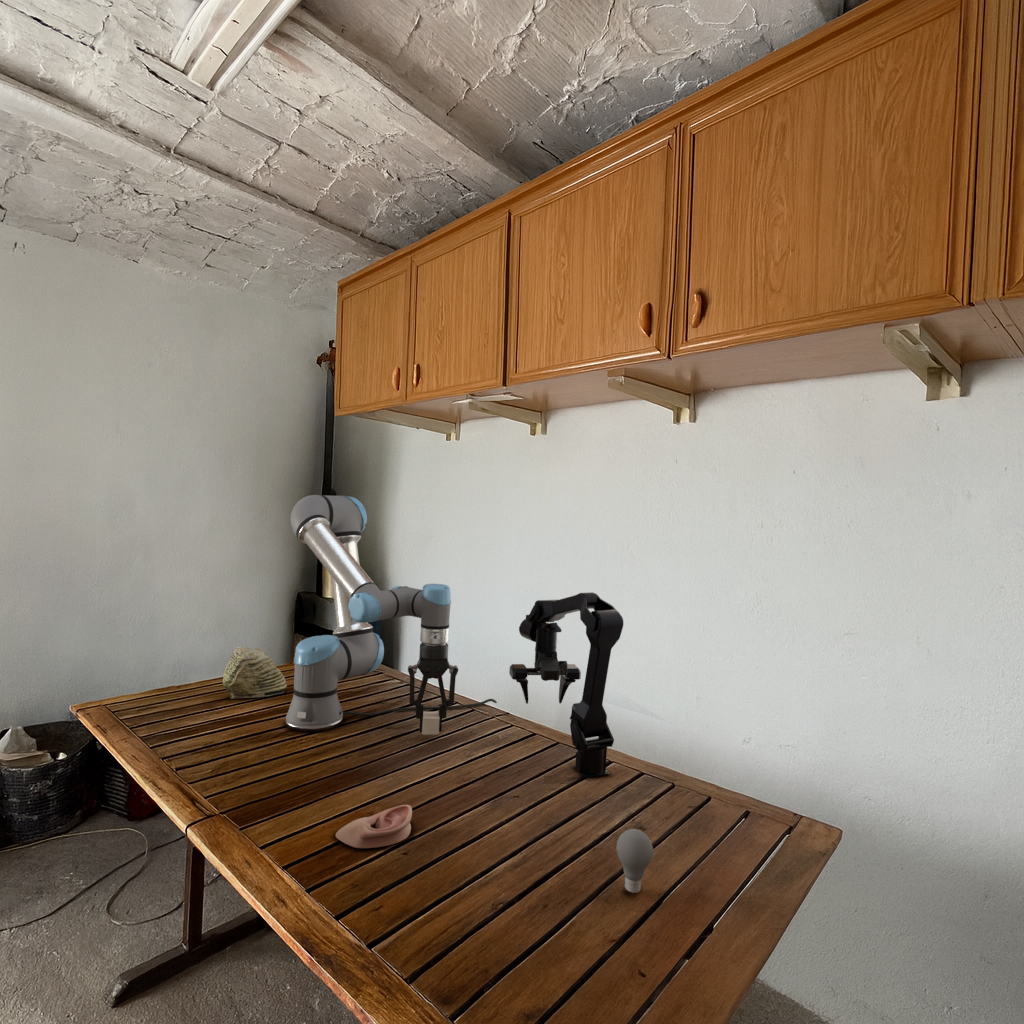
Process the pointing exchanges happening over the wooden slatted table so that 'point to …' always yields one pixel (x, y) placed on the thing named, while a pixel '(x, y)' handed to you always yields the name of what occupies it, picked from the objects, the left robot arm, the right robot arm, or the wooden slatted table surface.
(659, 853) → the wooden slatted table surface
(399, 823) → the anatomical model
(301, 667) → the left robot arm
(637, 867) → the light bulb
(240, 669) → the fossil
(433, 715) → the block
